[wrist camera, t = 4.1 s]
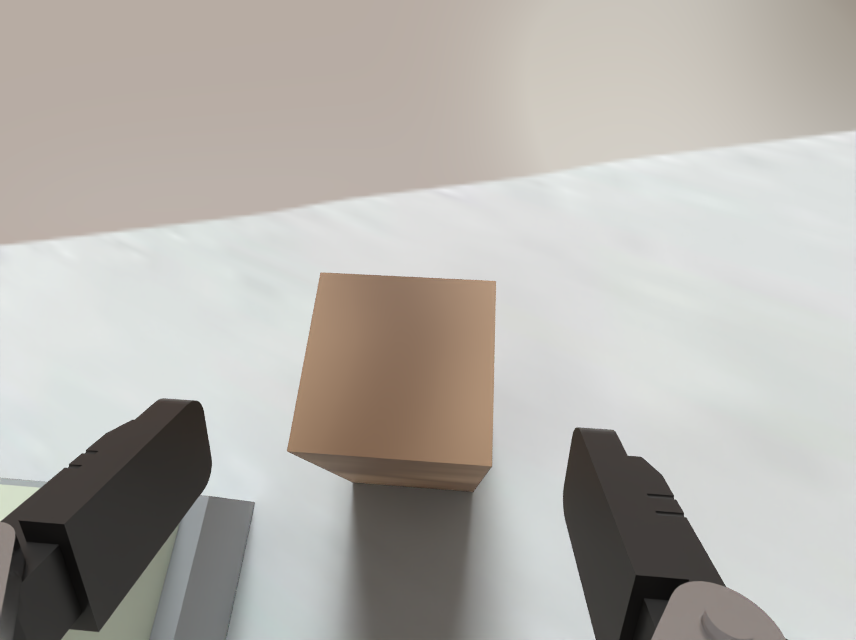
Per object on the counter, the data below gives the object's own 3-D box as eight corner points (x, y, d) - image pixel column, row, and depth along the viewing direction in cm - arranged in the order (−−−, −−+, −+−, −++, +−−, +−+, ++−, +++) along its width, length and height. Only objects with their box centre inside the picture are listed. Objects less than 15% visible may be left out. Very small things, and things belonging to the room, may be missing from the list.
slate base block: (257, 502, 18) (209, 496, 14) (200, 777, 15) (119, 859, 11) (57, 485, 19) (-39, 474, 15) (-40, 746, 15) (-192, 814, 12)
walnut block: (477, 374, 19) (495, 281, 12) (473, 491, 18) (492, 466, 10) (367, 367, 20) (320, 272, 12) (352, 482, 18) (287, 451, 11)
